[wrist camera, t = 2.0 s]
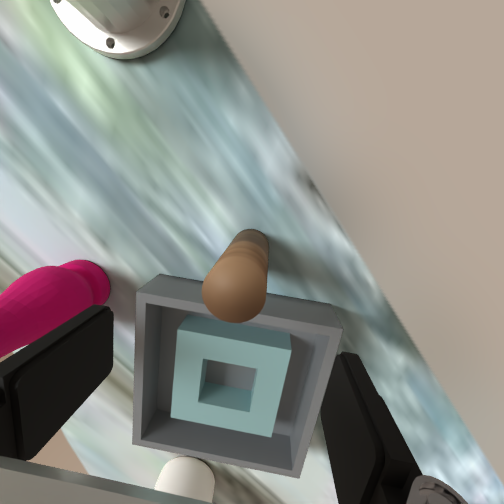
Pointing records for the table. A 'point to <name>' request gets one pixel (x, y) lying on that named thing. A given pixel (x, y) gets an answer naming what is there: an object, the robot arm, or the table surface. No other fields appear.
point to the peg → (239, 279)
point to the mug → (187, 479)
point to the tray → (230, 377)
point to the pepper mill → (48, 301)
